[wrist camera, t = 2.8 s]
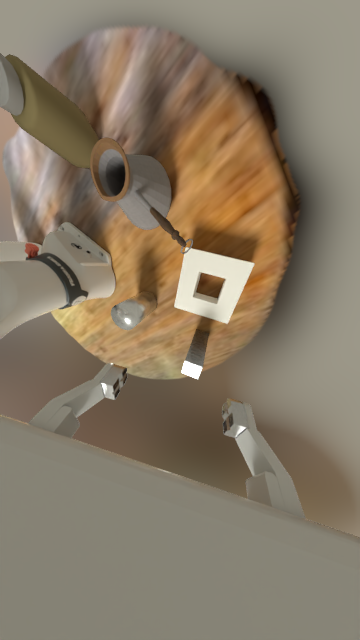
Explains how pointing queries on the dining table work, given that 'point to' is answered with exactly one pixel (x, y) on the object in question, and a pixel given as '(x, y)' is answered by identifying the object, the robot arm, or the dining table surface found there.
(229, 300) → the socket block
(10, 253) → the wine bottle
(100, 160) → the coffee pot
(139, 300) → the round bit
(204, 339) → the square bit
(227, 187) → the dining table surface
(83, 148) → the squeeze bottle
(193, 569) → the robot arm
